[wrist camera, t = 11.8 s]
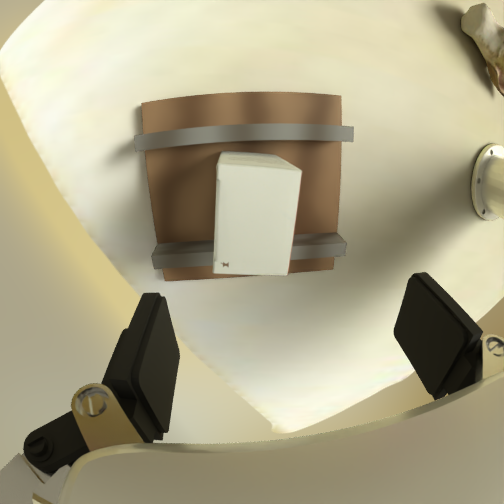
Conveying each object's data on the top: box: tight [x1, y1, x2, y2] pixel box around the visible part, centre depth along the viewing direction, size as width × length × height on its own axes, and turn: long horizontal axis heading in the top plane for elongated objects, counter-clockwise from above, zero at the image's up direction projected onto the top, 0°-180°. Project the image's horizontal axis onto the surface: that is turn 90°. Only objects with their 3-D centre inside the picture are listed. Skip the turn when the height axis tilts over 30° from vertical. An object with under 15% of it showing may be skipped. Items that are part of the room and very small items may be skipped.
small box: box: [213, 151, 302, 276], centre depth 23 cm, size 8×6×10 cm
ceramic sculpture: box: [461, 3, 504, 96], centre depth 17 cm, size 11×9×15 cm
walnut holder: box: [134, 92, 354, 281], centre depth 27 cm, size 20×20×4 cm
